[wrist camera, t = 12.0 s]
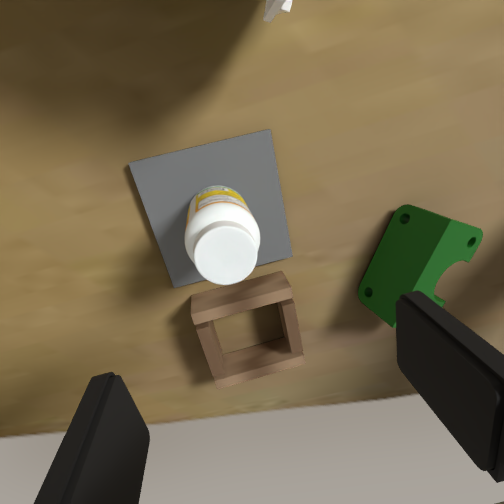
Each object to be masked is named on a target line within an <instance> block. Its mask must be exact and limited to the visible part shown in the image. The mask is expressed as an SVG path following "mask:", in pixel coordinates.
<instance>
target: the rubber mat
mask: <svg viewBox="0 0 504 504" xmlns="http://www.w3.org/2000/svg"><path fill="white" fill-rule="evenodd" d="M128 164H129V167H130V169H131V172H132V175H133V177H134V180H135V183H136V186H137V188H138V191H139V194H140V196H141V199H142V202H143V205H144V207H145V210H146V213H147V216H148V218H149V221H150V224H151V226H152V229H153V232H154V235H155V237H156V240H157V243H158V245H159V248H160V251H161V254H162V256H163V259H164V262H165V265H166V267H167V270H168V273H169V275H170V278H171V281H172V284H173V286H174V288H176V287H180V286H184V285H188V284H191V283H195V282H199V281H202V280H206V279H205V278H204V277H203V276H202V275H201V274H200V273H199V272H198V270H197V268H196V266H195V264H194V263H193V262H192V260H191V259H190V257H189V255H188V253H187V251H186V247H185V230H186V223H187V215H188V209H189V205H190V203H191V201H192V199H193V198H194V196H195V195H196V194H197V193H198V192H200V191H201V190H203V189H205V188H207V187H211V186H225V187H228V188H231V189H233V190H234V191H236V192H237V193H238V194H239V195H240V196H241V197H242V198H243V199H244V201H245V203H246V205H247V207H248V208H249V210H250V212H251V214H252V215H253V217H254V219H255V221H256V223H257V225H258V228H259V231H260V246H259V250H258V252H257V262H256V265H255V266H259V265H262V264H266V263H270V262H274V261H277V260H281V259H285V258H288V257H292V256H293V255H292V250H291V244H290V238H289V233H288V227H287V221H286V216H285V210H284V204H283V199H282V193H281V187H280V182H279V176H278V170H277V164H276V159H275V153H274V147H273V142H272V136H271V130H270V129H267V130H263V131H259V132H255V133H250V134H246V135H242V136H238V137H234V138H229V139H225V140H221V141H217V142H213V143H209V144H204V145H200V146H196V147H192V148H188V149H183V150H179V151H175V152H171V153H167V154H162V155H158V156H154V157H150V158H146V159H141V160H137V161H133V162H130V163H128Z"/></svg>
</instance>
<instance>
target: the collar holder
mask: <svg viewBox="0 0 504 504" xmlns="http://www.w3.org/2000/svg"><path fill="white" fill-rule="evenodd" d="M292 298H293V293H292V288H291V286H290V284H289V282H288V280H287V279H286V277H285V275H284V273H283V272H282V271H280V272H276V273H272V274H269V275H265V276H261V277H257V278H254V279H250V280H246V281H243V282H239V283H235V284H232V285H228V286H224V287H220V288H217V289H213V290H209V291H206V292H202V293H198V294H195V295H191V317H192V320H193V322H194V325H196V331H197V334H198V336H199V339H200V342H201V345H202V348H203V350H204V353H205V356H206V359H207V362H208V364H209V367H210V370H211V373H212V376H213V377H214V381H215V384H216V387H217V389H221V388H224V387H228V386H231V385H235V384H238V383H241V382H245V381H248V380H252V379H255V378H259V377H262V376H265V375H269V374H272V373H276V372H279V371H283V370H286V369H289V368H293V367H296V366H300V365H303V364H306V363H305V358H304V354H303V352H302V351H303V347H302V342H301V336H300V331H299V326H298V320H297V315H296V309H295V304H294V301H293V300H292ZM276 302H277V305H278V310H279V314H280V319H281V324H282V328H283V333H284V336H285V337H284V338H280V339H277V340H273V341H270V342H266V343H263V344H259V345H256V346H252V347H249V348H245V349H241V350H238V351H234V352H231V353H227V354H224V355H222V349H221V346H220V343H219V340H218V337H217V334H216V331H215V328H214V325H213V321H212V320H215V319H218V318H222V317H225V316H229V315H233V314H236V313H240V312H243V311H247V310H251V309H254V308H258V307H262V306H265V305H269V304H272V303H276Z"/></svg>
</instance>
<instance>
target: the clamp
mask: <svg viewBox="0 0 504 504" xmlns="http://www.w3.org/2000/svg"><path fill="white" fill-rule="evenodd" d="M482 237H483V232H482V230H481V229H479V228H476V227H474V226H471V225H468V224H465V223H462V222H459V221H456V220H453V219H450V218H447V217H444V216H441V215H439V214H436V213H433V212H430V211H428V210H425V209H422V208H419V207H415V206H412V205H403V206H401V207H399V208H398V209H397V210H396V211H395V213H394V215H393V217H392V219H391V221H390V223H389V225H388V227H387V230H386V232H385V234H384V236H383V238H382V240H381V242H380V244H379V246H378V248H377V250H376V252H375V255H374V257H373V259H372V261H371V263H370V265H369V267H368V269H367V271H366V273H365V275H364V277H363V280H362V282H361V284H360V286H359V289H358V296H359V299H360V301H361V302H362V303H363V304H364V305H365V306H367V307H368V308H369V309H370V310H372V311H373V312H374V313H375V314H376V315H378V316H379V317H380V318H381V319H383V320H384V321H385V322H386V323H387V324H389V325H390V326H391V327H392V328H396V305H395V304H396V301H397V300H399V297H400V295H402V294H405V293H409V292H413V291H416V290H419V291H421V292H422V293H424V294H425V295H426V296H428V297H429V298H430V299H432V300H433V301H434V302H435V303H437V304H438V305H439V306H441V307H443V305H444V304H445V302H446V301H444V300H442V299H441V298H439V297H437V296H436V295H434V289H435V286H436V283H437V281H438V279H439V278H440V276H441V275H442V274H443V272H444V271H445V270H446V269H447V268H448V267H449V266H451V265H452V264H454V263H455V262H457V261H461V260H464V261H466V262H468V263H469V261H470V260H471V258H472V256H473V255H474V253H475V251H476V249H477V248H478V246H479V244H480V243H481V240H482Z"/></svg>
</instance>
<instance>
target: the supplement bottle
mask: <svg viewBox="0 0 504 504" xmlns="http://www.w3.org/2000/svg"><path fill="white" fill-rule="evenodd" d="M259 246H260V231H259V228H258V225H257V223H256V221H255V219H254V217H253V215H252V214H251V212H250V210H249V208H248V207H247V205H246V203H245V201H244V199H243V198H242V197H241V196H240V195H239V194H238V193H237V192H236V191H234V190H233V189H231V188H228V187H225V186H211V187H207V188H205V189H203V190H201V191H200V192H198V193H197V194H196V195H195V196H194V198H193V199H192V201H191V203H190V205H189V209H188V215H187V223H186V230H185V247H186V251H187V253H188V255H189V257H190V259H191V260H192V262H193V263H194V264H195V266H196V268H197V270H198V272H199V273H200V274H201V275H202V276H203V277H204V278H205V279H207V280H208V281H210V282H213V283H215V284H221V285H229V284H234V283H237V282H240V281H242V280H243V279H245V278H246V277H247V276H248V275H249V274H250V273H251V272H252V270H253V269H254V267H255V265H256V262H257V252H258V250H259Z"/></svg>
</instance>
